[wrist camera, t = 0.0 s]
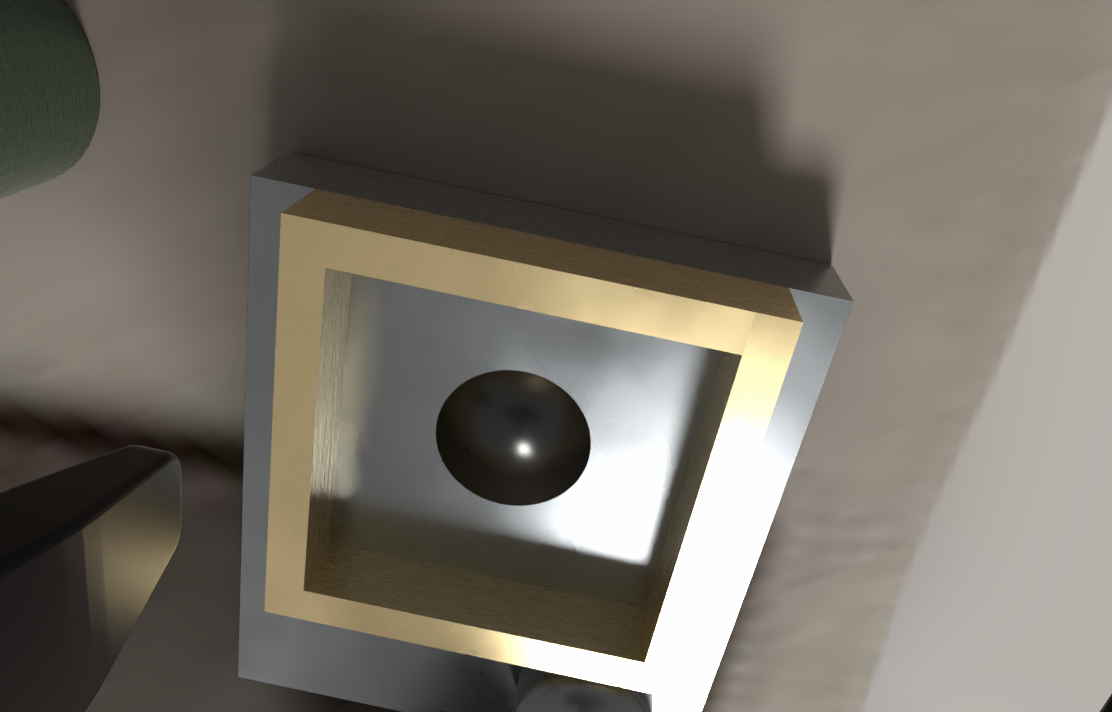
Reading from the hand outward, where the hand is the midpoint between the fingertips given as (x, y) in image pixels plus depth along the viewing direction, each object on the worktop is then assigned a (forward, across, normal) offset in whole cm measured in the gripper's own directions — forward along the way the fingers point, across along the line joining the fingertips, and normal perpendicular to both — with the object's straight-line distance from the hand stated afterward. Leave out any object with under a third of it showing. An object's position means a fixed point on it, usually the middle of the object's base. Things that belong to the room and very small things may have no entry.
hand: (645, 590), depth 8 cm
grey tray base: (+15, +2, +9) cm, 17 cm away
